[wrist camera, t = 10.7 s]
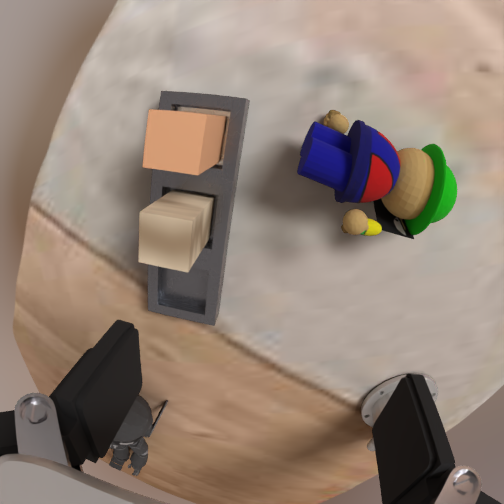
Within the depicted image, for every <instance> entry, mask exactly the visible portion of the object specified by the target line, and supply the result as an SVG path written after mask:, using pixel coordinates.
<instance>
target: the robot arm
mask: <svg viewBox="0 0 504 504" xmlns="http://www.w3.org/2000/svg"><path fill="white" fill-rule="evenodd" d="M141 388H142V374H141V362H140V349H139V334H138V330H137V329H135V328H134V325H133V324H132V323H129V322H125V321H122V320H117V321H115V323H114V324H113V325H112V326H111V327H110V328H109V330H108V331H107V332H106V333H105V334H104V336H103V337H102V338H101V339H100V340H99V341H98V343H97V344H96V345H95V346H94V347H93V348H90V349H88V350H87V351H86V352H85V353H84V355H83V356H82V357H81V358H80V359H79V361H78V362H77V363H76V364H75V365H74V367H73V368H72V369H71V370H70V371H69V373H68V374H67V375H66V376H65V378H64V379H63V380H62V381H61V383H60V384H59V385H58V386H57V387H56V389H55V390H54V391H53V392H52V394H51V395H50V396H49V397H48V396H46V395H44V394H41V393H31V394H27V395H25V396H23V397H22V398H21V399H20V400H19V401H18V402H17V404H16V406H15V410H13V411H6V412H0V504H168V503H165V502H161V501H158V500H155V499H152V498H149V497H146V496H143V495H140V494H137V493H134V492H131V491H129V490H126V489H123V488H120V487H118V486H115V485H112V484H110V483H107V482H105V481H103V480H100V479H98V478H95V477H93V476H90V475H88V474H86V473H84V472H83V469H82V466H81V464H83V463H84V461H85V460H86V459H88V460H90V461H92V462H94V463H96V462H97V460H98V458H99V457H100V458H103V457H104V456H105V454H106V453H107V451H108V449H109V447H110V445H111V443H112V441H113V440H114V438H115V436H116V434H117V432H118V430H119V429H120V427H121V425H122V423H123V421H124V419H125V418H126V416H127V414H128V412H129V410H130V409H131V407H132V405H133V403H134V401H135V400H136V398H137V396H138V394H139V392H140V390H141ZM437 396H438V388H437V385H436V383H435V381H434V380H433V379H432V378H431V377H429V376H427V375H424V374H417V373H415V374H406V375H401V376H398V377H395V378H392V379H390V380H388V381H386V382H384V383H382V384H380V385H379V386H378V387H376V388H375V389H374V390H372V391H371V392H370V393H369V394H368V395H367V397H366V398H365V400H364V401H363V404H362V407H361V414H362V418H363V420H364V422H365V423H366V424H367V425H369V426H371V427H373V429H372V433H373V438H372V439H371V440H370V441H369V443H368V444H367V448H368V450H370V451H375V452H376V459H377V465H378V473H379V480H380V488H381V496H382V503H383V504H501V503H500V502H498V501H496V500H495V499H493V498H492V497H490V496H488V495H486V494H485V493H484V492H482V491H481V487H482V482H481V478H480V476H479V474H478V473H477V472H476V471H475V470H474V469H473V468H471V467H468V466H459V467H455V464H454V463H455V460H454V457H453V454H452V451H451V448H450V445H449V442H448V439H447V436H446V433H445V430H444V427H443V424H442V422H441V419H440V416H439V413H438V411H437V408H436V405H435V401H436V399H437Z"/></svg>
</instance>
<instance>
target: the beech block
mask: <svg viewBox="0 0 504 504" xmlns="http://www.w3.org/2000/svg"><path fill="white" fill-rule="evenodd" d="M214 200H215V196H210V195H203V194H197V193H191V192H184V191H178V190H172V191H170V192H169V193H167V194H166V195H164V196H163V197H161V198H160V199H158V200H157V201H155V202H154V203H152V204H151V205H149V206H148V207H146V208H145V209H143V210H142V211H140V216H139V262H140V263H145V264H150V265H154V266H159V267H164V268H169V269H173V270H178V271H183V272H189V270H190V269H191V267H192V266H193V264H194V262H195V261H196V259H197V257H198V256H199V254H200V253H201V251H202V249H203V248H204V246H205V245H206V243H207V241H208V240H209V238H210V233H211V224H212V216H213V208H214Z"/></svg>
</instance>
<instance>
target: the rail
mask: <svg viewBox="0 0 504 504" xmlns="http://www.w3.org/2000/svg"><path fill="white" fill-rule="evenodd" d="M249 102H250V101H249V100H248V99H245V98H237V97H229V96H220V95H211V94H200V93H187V92H172V91H161V97H160V104H159V110H171V111H185V112H195V113H204V114H212V115H219V116H226V117H227V122H226V128H225V134H224V140H223V146H222V152H221V159H220V162H219V163H217V164H215V165H214V166H212V167H211V168H209V169H207V170H206V171H204V172H203V173H201V174H200V175H192V174H185V173H179V172H172V171H165V170H158V169H152V181H151V196H150V205H151V204H152V203H154V202H155V201H157V200H158V199H160V198H161V197H163V196H164V195H166V194H167V193H169V192H170V191H172V190H178V191H184V192H191V193H197V194H203V195H210V196H215V200H214V208H213V216H212V224H211V233H210V238H209V240H208V241H207V243H206V245H205V246H204V248H203V249H202V251H201V253H200V254H199V256H198V257H197V259H196V261H195V262H194V264H193V266H192V267H191V269H190V270H189V272H183V271H178V270H173V269H169V268H164V267H159V266H154V265H150V264H148V311H152V312H156V313H160V314H164V315H169V316H173V317H177V318H181V319H186V320H190V321H195V322H199V323H204V324H209V325H213V326H214V325H215V323H216V320H217V317H218V314H219V308H220V300H221V292H222V285H223V277H224V269H225V262H226V255H227V247H228V240H229V233H230V226H231V219H232V212H233V205H234V198H235V191H236V185H237V178H238V171H239V165H240V158H241V152H242V146H243V139H244V133H245V127H246V121H247V114H248V108H249Z"/></svg>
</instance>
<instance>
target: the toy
mask: <svg viewBox="0 0 504 504" xmlns="http://www.w3.org/2000/svg"><path fill="white" fill-rule="evenodd" d="M348 127H349V123H348V120H347V119H346V117H344V116H343V115H341V114H340V112H338V111H335V110H330V111H329V113H328V114H326V118H324V125H322V124H319V123H317V122H313V124H312V125H311V127H310V129H309V131H308V133H307V135H306V137H305V140H304V143H303V145H302V149H301V152H300V156H301V159H300V162H299V166H298V170H297V173H298V174H299V175H302V176H304V177H307V178H309V179H312V180H314V181H317V182H319V183H322V184H324V185H326V186H329V187H331V188H333V189H335V200H336V201H337V202H340V203H343V202H345V201H346V202H353V203H365V202H371V201H373V202H374V207H375V212H376V217H377V221H375V220H372V219H368V218H367V216H366V215H365V213H364V212H362V211H361V210H358V209H352V210H349V211H348V212H346V214H345V215H344V218H343V225H342V226H341V228H342V231H343V232H344V233H349V234H353V235H358V234H361V235H367V236H373V235H377V234H379V233H380V232H381V231H382V230H383V231H387V232H390V233H394V234H397V235H401V236H404V237H408V238H411V239H414V237H413V235H417V234H419V233H421V232H422V231H423V230H425V229H426V228H427V226H428V225H429V224H430V223H434V222H437V221H439V220H441V219H443V218H444V217H445V216H447V215H448V213H449V212H450V211H451V210H452V208H453V206H454V204H455V201H456V197H457V184H456V180H455V177H454V175H453V173H452V171H451V170H450V168H449V167H448V166H447V165H446V160H445V157H444V154H443V151H442V150H441V148H440V147H438V146H437V145H435V144H429V145H427V146H425V147H424V148H423V149H422V150H419V149H415V148H406V149H402V150H399V151H396V149H395V148H394V146H393V145H392V144H391V142H390V141H389V140H388V139H387V138H386V137H385V136H384V135H383V134H381V133H380V132H378V131H377V130H375V129H374V128H372V127H370V126H367V125H365V123H364V122H363V121H360V120H356V121H355V122H354V123H353V125H352V127H351V129H350V131H349V133H348V135H347V136H346V135H344V133H345V132H346V131H347V130H348Z"/></svg>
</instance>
